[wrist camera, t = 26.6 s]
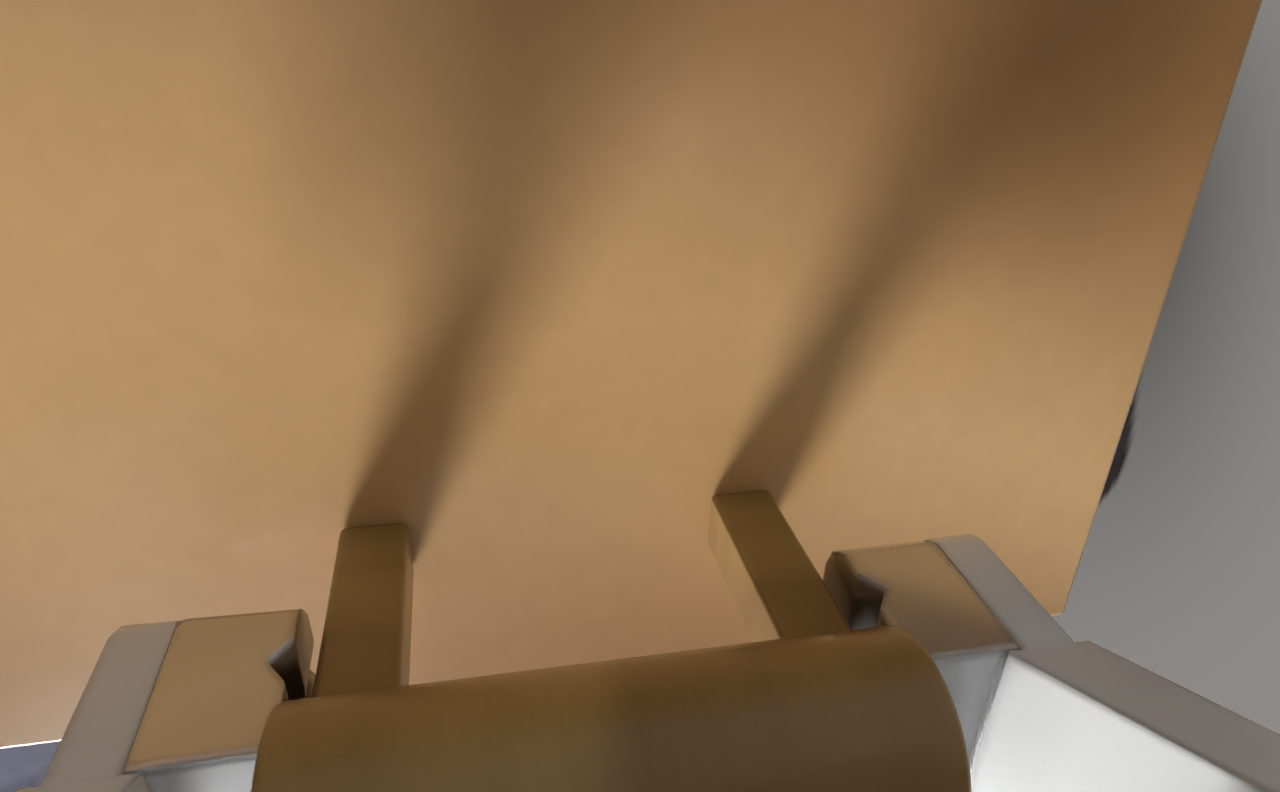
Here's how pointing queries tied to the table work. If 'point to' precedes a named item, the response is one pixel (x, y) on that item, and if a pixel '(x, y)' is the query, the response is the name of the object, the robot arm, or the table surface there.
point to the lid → (573, 356)
